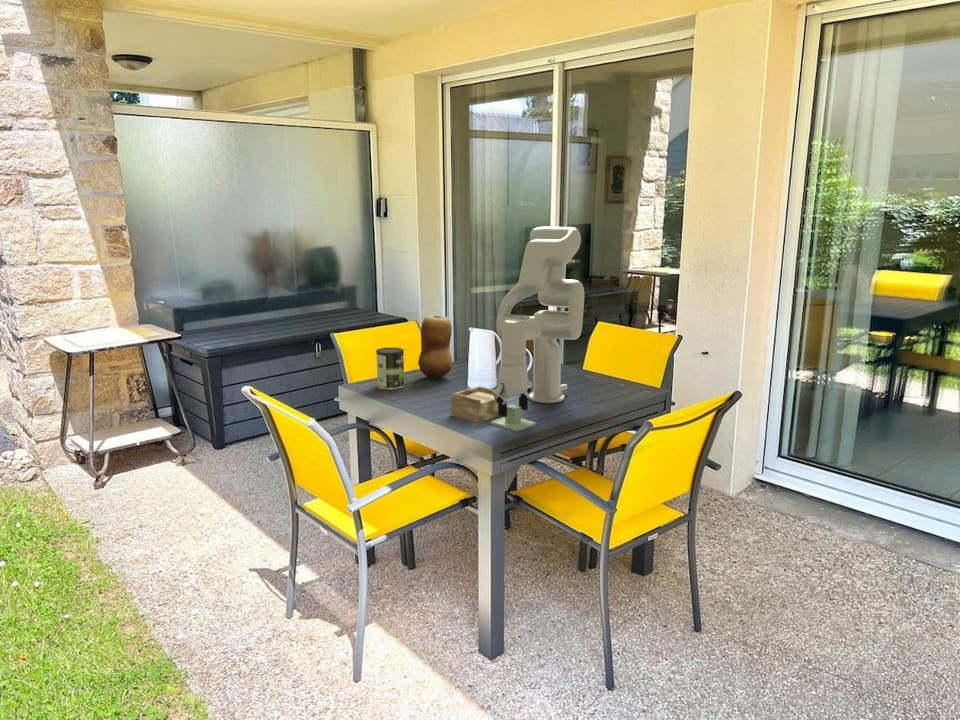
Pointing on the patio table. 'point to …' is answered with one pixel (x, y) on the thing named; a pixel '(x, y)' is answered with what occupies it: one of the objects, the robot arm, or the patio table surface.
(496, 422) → the cover plate
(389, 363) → the coffee can
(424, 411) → the patio table surface
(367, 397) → the patio table surface
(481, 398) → the box
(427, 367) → the butternut squash
